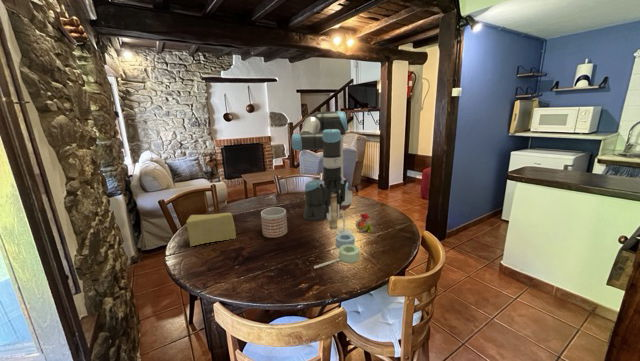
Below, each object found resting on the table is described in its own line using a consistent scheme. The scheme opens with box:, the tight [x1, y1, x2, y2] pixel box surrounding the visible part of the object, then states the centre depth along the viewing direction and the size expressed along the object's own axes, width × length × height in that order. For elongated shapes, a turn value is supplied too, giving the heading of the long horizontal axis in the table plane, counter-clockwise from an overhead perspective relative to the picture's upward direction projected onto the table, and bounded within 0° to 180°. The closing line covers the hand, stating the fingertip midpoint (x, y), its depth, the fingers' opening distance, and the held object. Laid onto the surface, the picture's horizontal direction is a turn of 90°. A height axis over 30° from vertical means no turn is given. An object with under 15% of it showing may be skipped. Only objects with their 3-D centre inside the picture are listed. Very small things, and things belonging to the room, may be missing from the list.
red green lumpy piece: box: [355, 213, 373, 233], centre depth 146 cm, size 6×11×9 cm
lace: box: [313, 258, 341, 270], centre depth 116 cm, size 1×13×1 cm, turn 117°
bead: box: [338, 245, 360, 264], centre depth 121 cm, size 9×9×4 cm
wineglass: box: [335, 189, 353, 235], centre depth 144 cm, size 9×10×23 cm
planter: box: [260, 206, 288, 239], centre depth 148 cm, size 14×14×13 cm
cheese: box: [186, 212, 237, 247], centre depth 140 cm, size 22×10×15 cm, turn 102°
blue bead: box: [335, 233, 356, 249], centre depth 133 cm, size 9×9×4 cm
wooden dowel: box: [328, 193, 338, 230], centre depth 117 cm, size 4×4×16 cm
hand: (333, 218), depth 118 cm, fingers closed on wooden dowel, 3 cm apart
